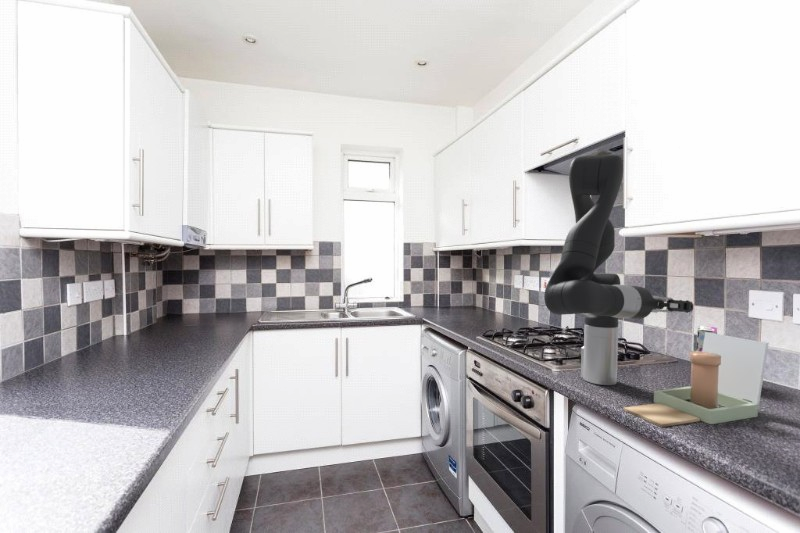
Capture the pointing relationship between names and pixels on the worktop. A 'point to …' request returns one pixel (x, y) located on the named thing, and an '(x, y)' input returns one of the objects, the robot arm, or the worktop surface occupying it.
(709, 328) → the candy bar box
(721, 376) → the frame lid
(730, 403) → the frame
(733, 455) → the worktop surface
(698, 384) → the tan capped bottle
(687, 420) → the mat
